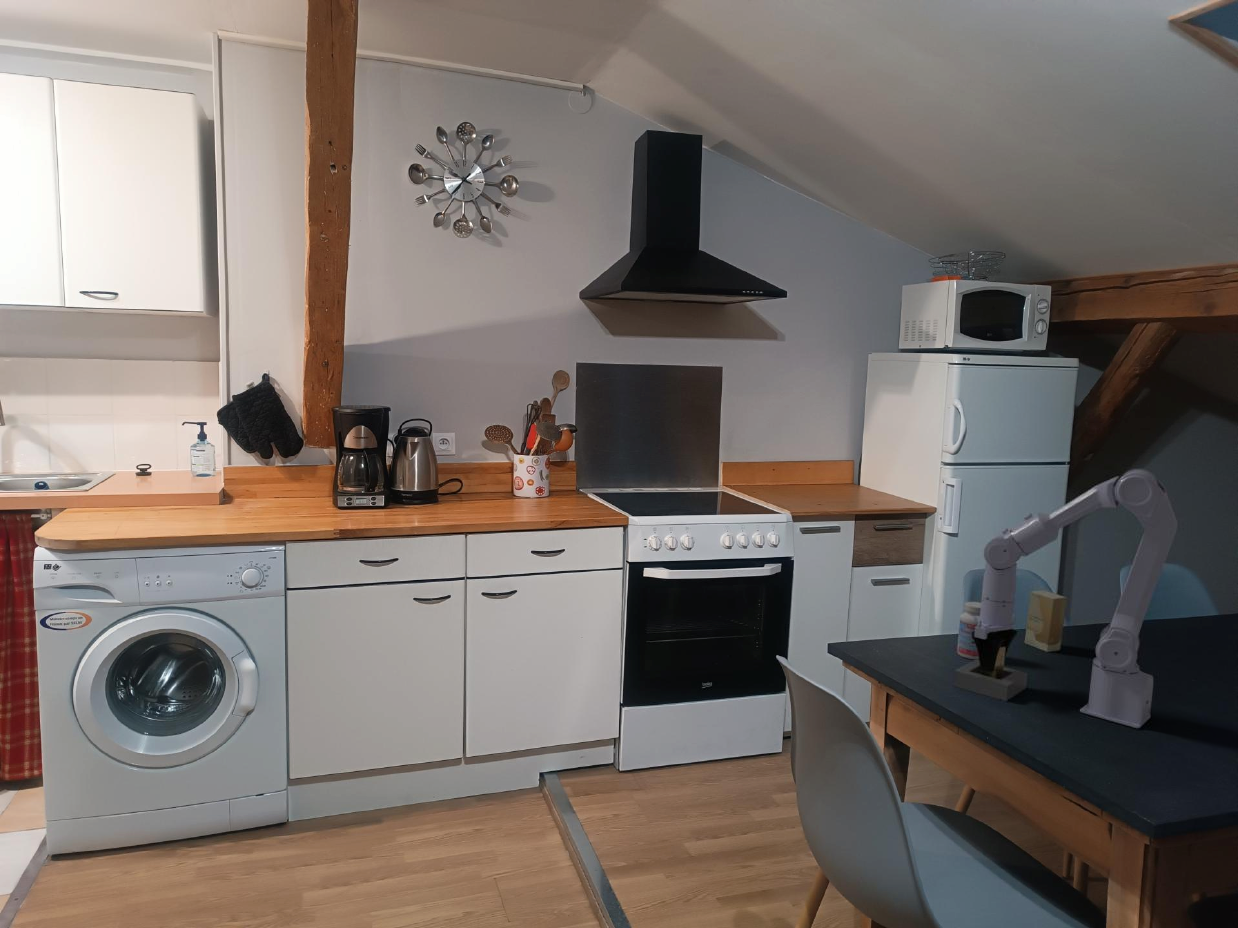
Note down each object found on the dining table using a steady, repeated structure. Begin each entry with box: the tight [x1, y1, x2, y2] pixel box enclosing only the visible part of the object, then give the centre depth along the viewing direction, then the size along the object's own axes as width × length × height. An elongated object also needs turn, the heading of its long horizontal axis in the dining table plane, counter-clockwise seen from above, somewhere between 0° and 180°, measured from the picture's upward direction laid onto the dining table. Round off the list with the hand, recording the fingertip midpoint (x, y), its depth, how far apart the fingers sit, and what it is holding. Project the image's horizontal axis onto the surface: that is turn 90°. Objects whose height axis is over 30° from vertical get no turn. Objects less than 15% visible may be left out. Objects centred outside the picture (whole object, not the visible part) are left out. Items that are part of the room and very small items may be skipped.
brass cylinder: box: [980, 645, 1006, 679], centre depth 167 cm, size 4×4×6 cm
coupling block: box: [952, 659, 1028, 702], centre depth 167 cm, size 10×10×3 cm
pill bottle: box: [956, 601, 981, 661], centre depth 185 cm, size 6×6×11 cm
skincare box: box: [1024, 589, 1068, 653], centre depth 193 cm, size 6×4×12 cm
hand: (991, 667), depth 167 cm, fingers closed on brass cylinder, 4 cm apart
